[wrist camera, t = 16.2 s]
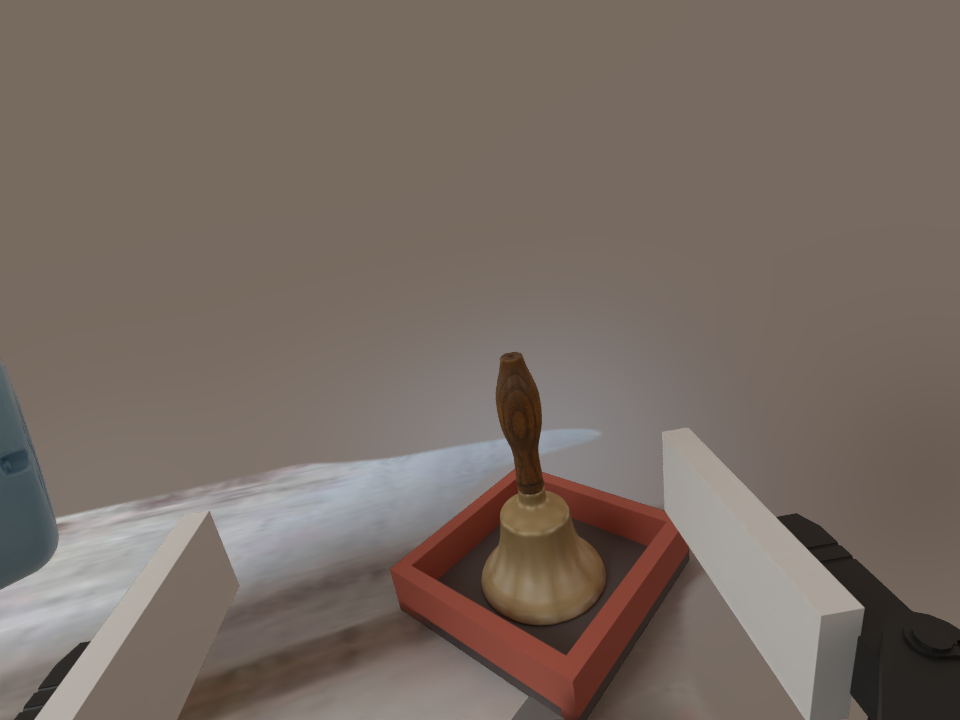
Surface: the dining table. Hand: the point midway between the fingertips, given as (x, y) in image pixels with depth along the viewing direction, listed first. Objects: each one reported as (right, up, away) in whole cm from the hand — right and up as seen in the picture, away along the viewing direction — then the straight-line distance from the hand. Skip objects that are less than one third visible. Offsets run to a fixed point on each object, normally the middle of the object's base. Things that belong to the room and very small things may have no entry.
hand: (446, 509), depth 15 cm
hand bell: (+5, -10, +20) cm, 23 cm away
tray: (+5, -11, +20) cm, 24 cm away
